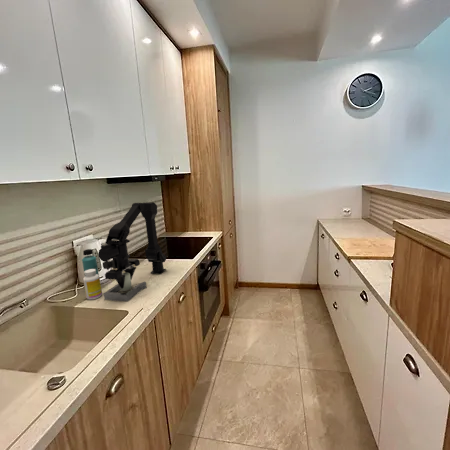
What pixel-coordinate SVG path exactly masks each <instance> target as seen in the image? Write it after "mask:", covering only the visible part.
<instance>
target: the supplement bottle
mask: <svg viewBox="0 0 450 450" xmlns="http://www.w3.org/2000/svg"><path fill="white" fill-rule="evenodd" d="M84 274H85V275H84ZM98 274H99V273H98ZM98 274H96V269H89V270H86V271H84V270H83V275H84V276H85V277H83V279H82V280H83V287H84V292H85V297H86V299H87V300H95V299H98V298H101V296H102V295H103V292H102V286H101V285H102V284H101V279H100V274H99V275H98Z"/></svg>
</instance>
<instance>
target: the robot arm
mask: <svg viewBox="0 0 450 450" xmlns="http://www.w3.org/2000/svg"><path fill="white" fill-rule="evenodd" d="M157 205H158V204H157V203H155V202H154V201H153V202H150V201H149V202H148V201H147V202H133V203H132V204H131V207H130V208H129V210H128V211H127V212H126V214H125V215H124V217H122V219H121V220H120V221H119V222H117V223H115V224H113V225H112V227H111V228H110V229H109V231H108V234H107V237H106V239H105V242H104V243H105V244H103V245H101V246H100V249H99V250H98V253H97V256H98V258H99V260H101V262H102V268H103V269H104V270H107V271H106V272H105V274H104V277H105V280H115V281H116V283H117V284H119V286H120V287H121V288H124V281H125V275H123V273H126V272H128V273H130V277H131V281H132V279H133V276H134V274H135V272H136V269H137V267H138V266H139V265H141V264H140V263H141V262H140V260H139V259H138V258H130V257H131V254H129V252H128V251H129V250H128V243H130V240H129V239H128V236H129V234H130V232H131V230H130V228H131V227H132V225H133V224H134V222H135V221H136V219H137V218H138V216H139V215H140V214H141V216H142V218H143V219H144V220H145V229H146V237H147V247H146V249H145V250H144V252H145V257H146V259H147V261H148V263H151V265H152V266H151V267H152V271H151V272H150V274H158V275H159V274H160V275H162V273H164V272H165V271H166V270H167V269H166V268H164V263H165V262H166V261H167V256H166V255H165V254H164V253H163V251H162V247H161V246H160V245H159V243H158V233H157V226H156V225H157V224H156V216H157V214H158V206H157ZM111 259H112V260H111Z"/></svg>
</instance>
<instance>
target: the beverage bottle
mask: <svg viewBox="0 0 450 450" xmlns="http://www.w3.org/2000/svg"><path fill="white" fill-rule="evenodd" d="M82 253H83V256H84V257H83V258H82V259H81V262H82V268H83V272H84V271H86V270H89V269H96V274H98V275H99V276H100V273H99V268H98V263H97V257H96V256H95V255H93V254H94V252H93V249H92V248H87V249H84V250H83V251H82ZM83 275H84V277H85V274H84V273H83ZM84 277H83V278H84Z"/></svg>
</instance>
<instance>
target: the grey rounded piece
mask: <svg viewBox="0 0 450 450" xmlns="http://www.w3.org/2000/svg"><path fill="white" fill-rule="evenodd" d="M122 273H123V275H125V281H124V288H121V287H120V291H121V292H125V291H127V292H128V291H130V290H131V289H132V288H133V285H132V280H131V277H130V273H128V272H126V273H125V272H122Z"/></svg>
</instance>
